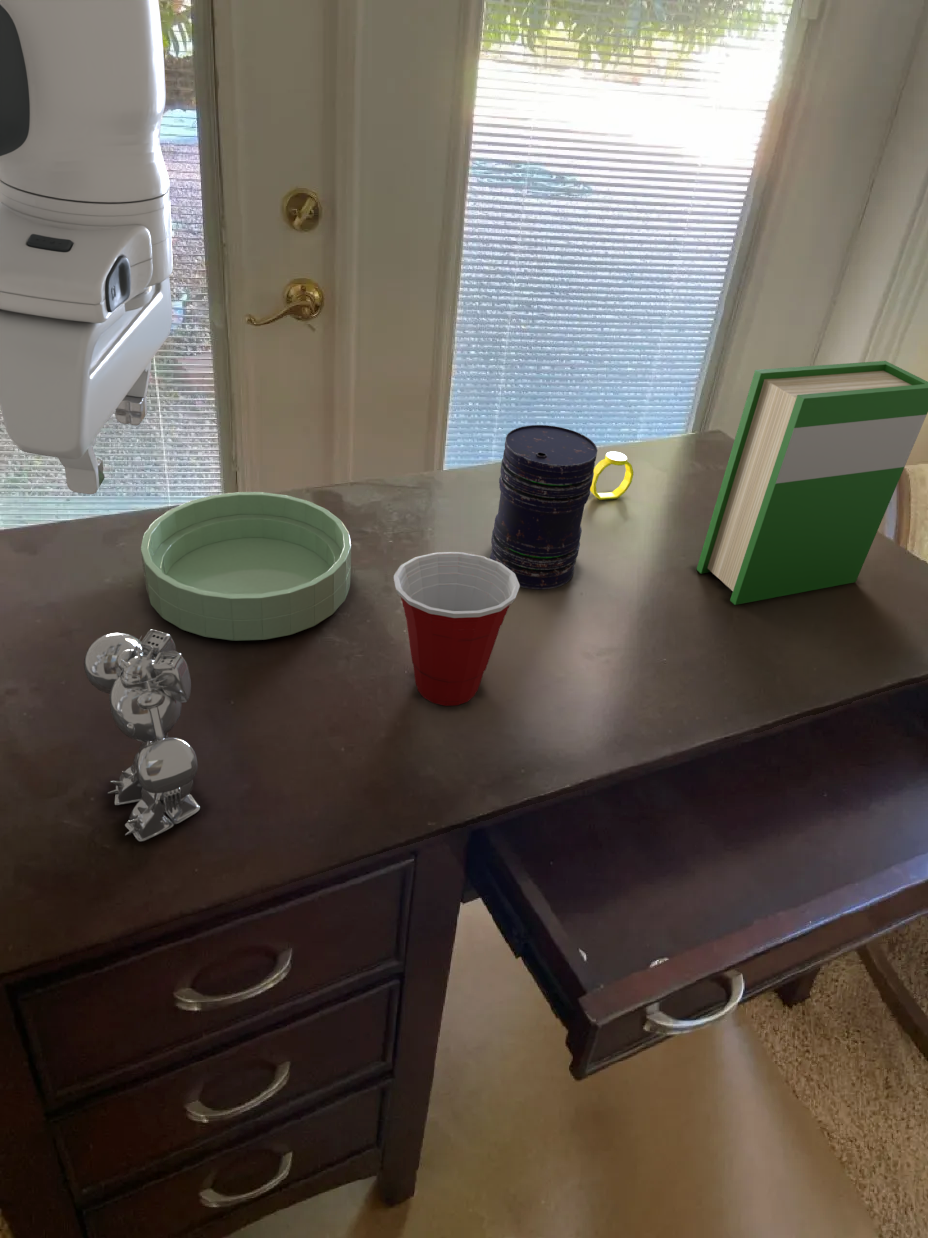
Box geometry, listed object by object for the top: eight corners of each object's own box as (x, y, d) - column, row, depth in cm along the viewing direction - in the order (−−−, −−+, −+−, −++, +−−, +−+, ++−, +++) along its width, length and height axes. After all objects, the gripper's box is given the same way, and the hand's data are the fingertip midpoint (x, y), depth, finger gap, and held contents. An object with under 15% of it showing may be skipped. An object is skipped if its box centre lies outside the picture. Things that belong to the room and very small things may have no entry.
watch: (593, 505, 114) (601, 463, 110) (581, 495, 116) (589, 453, 112) (631, 499, 116) (641, 457, 113) (619, 489, 118) (628, 448, 115)
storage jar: (508, 534, 106) (525, 416, 97) (586, 558, 103) (610, 439, 94) (474, 572, 98) (489, 448, 90) (556, 600, 96) (580, 475, 87)
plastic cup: (479, 641, 88) (492, 537, 81) (522, 712, 80) (540, 604, 73) (373, 657, 85) (378, 550, 78) (407, 733, 77) (415, 622, 70)
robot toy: (85, 742, 72) (53, 590, 64) (161, 719, 75) (140, 571, 67) (139, 872, 63) (110, 715, 54) (224, 840, 66) (209, 686, 57)
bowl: (136, 649, 82) (128, 600, 79) (158, 535, 99) (153, 491, 95) (356, 642, 86) (357, 595, 83) (343, 534, 102) (344, 491, 99)
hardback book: (735, 604, 98) (803, 398, 84) (696, 569, 103) (755, 369, 89) (855, 582, 104) (938, 386, 90) (813, 549, 110) (885, 360, 96)
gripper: (93, 182, 58) (111, 380, 67) (-50, 282, 42) (-2, 527, 51) (191, 198, 59) (196, 393, 67) (87, 303, 43) (111, 542, 51)
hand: (110, 451), depth 59 cm, fingers open, 8 cm apart
